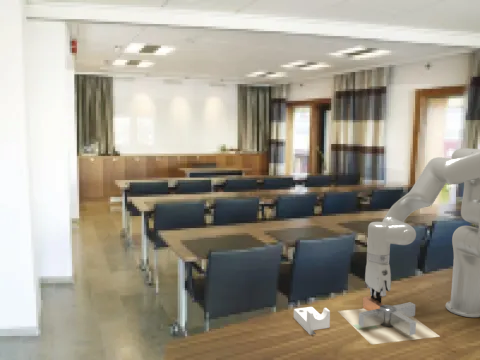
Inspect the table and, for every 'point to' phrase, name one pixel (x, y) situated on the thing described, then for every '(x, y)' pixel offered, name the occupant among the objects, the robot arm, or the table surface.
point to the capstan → (388, 315)
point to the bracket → (312, 319)
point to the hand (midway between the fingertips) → (375, 307)
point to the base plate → (385, 329)
